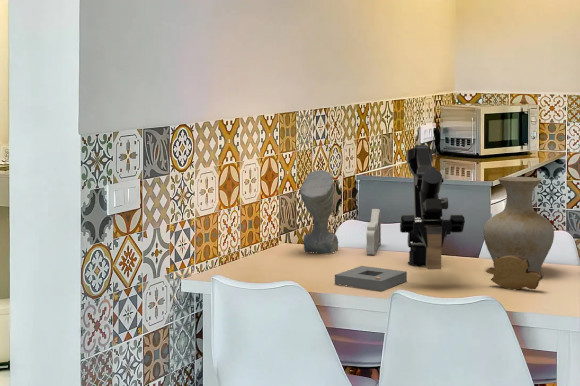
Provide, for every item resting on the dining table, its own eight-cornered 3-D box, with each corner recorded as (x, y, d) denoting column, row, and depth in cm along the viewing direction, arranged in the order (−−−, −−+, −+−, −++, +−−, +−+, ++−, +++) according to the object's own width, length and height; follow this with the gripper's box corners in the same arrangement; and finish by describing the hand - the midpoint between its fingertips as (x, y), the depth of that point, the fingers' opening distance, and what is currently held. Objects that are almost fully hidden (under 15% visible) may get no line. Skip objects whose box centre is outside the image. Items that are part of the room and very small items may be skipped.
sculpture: (339, 247, 315) (339, 167, 312) (332, 259, 293) (332, 173, 290) (307, 246, 317) (307, 167, 314) (298, 258, 295) (297, 173, 292)
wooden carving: (543, 290, 245) (544, 256, 244) (540, 293, 241) (541, 259, 240) (487, 284, 253) (488, 251, 251) (483, 287, 249) (484, 254, 247)
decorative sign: (374, 262, 299) (373, 221, 296) (366, 262, 299) (366, 221, 296) (380, 244, 321) (380, 206, 318) (373, 244, 322) (373, 206, 318)
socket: (361, 275, 267) (361, 264, 267) (406, 281, 258) (406, 270, 257) (334, 284, 254) (334, 273, 254) (381, 291, 245) (381, 279, 244)
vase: (494, 262, 285) (496, 174, 281) (560, 268, 274) (563, 177, 270) (473, 274, 266) (475, 180, 263) (543, 281, 255) (545, 183, 252)
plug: (425, 266, 250) (425, 225, 249) (439, 266, 250) (440, 225, 249) (427, 269, 246) (427, 227, 245) (441, 269, 246) (442, 227, 244)
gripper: (401, 188, 250) (404, 231, 240) (464, 187, 249) (470, 230, 239) (398, 210, 258) (401, 252, 249) (459, 210, 258) (465, 252, 248)
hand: (434, 246), depth 246 cm, fingers closed on plug, 4 cm apart
